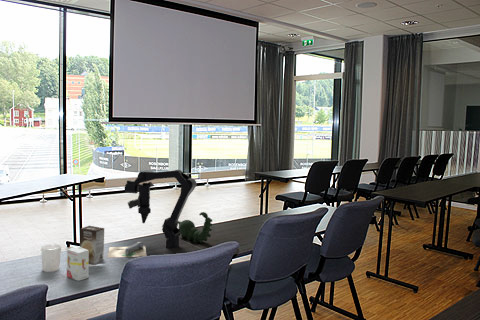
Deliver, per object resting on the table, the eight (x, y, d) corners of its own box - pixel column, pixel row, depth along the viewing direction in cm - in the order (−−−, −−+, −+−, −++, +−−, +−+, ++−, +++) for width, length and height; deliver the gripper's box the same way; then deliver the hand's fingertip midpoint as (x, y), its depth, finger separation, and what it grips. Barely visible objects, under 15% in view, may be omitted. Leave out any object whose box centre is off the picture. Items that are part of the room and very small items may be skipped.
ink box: (65, 276, 170) (66, 248, 170) (76, 273, 174) (77, 246, 174) (78, 281, 166) (78, 252, 165) (88, 278, 170) (89, 250, 169)
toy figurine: (213, 246, 230) (182, 233, 245) (217, 213, 228) (185, 203, 242) (201, 249, 222) (170, 236, 237) (205, 215, 220) (173, 205, 235)
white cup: (53, 273, 173) (53, 250, 172) (36, 271, 174) (37, 248, 174) (64, 267, 180) (65, 245, 180) (48, 265, 182) (49, 243, 181)
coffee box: (78, 262, 188) (79, 228, 187) (88, 258, 194) (88, 225, 193) (95, 265, 185) (95, 230, 184) (104, 261, 191) (105, 227, 190)
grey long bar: (138, 246, 212) (138, 241, 211) (144, 247, 211) (144, 242, 211) (123, 254, 198) (123, 248, 198) (130, 255, 197) (130, 249, 197)
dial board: (145, 248, 215) (145, 245, 215) (146, 258, 198) (146, 255, 198) (109, 249, 210) (109, 246, 210) (107, 259, 194) (107, 257, 194)
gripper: (128, 191, 225) (128, 219, 226) (128, 197, 207) (127, 227, 208) (149, 191, 227) (148, 219, 229) (151, 197, 210) (150, 227, 211)
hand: (143, 223), depth 219 cm, fingers closed
